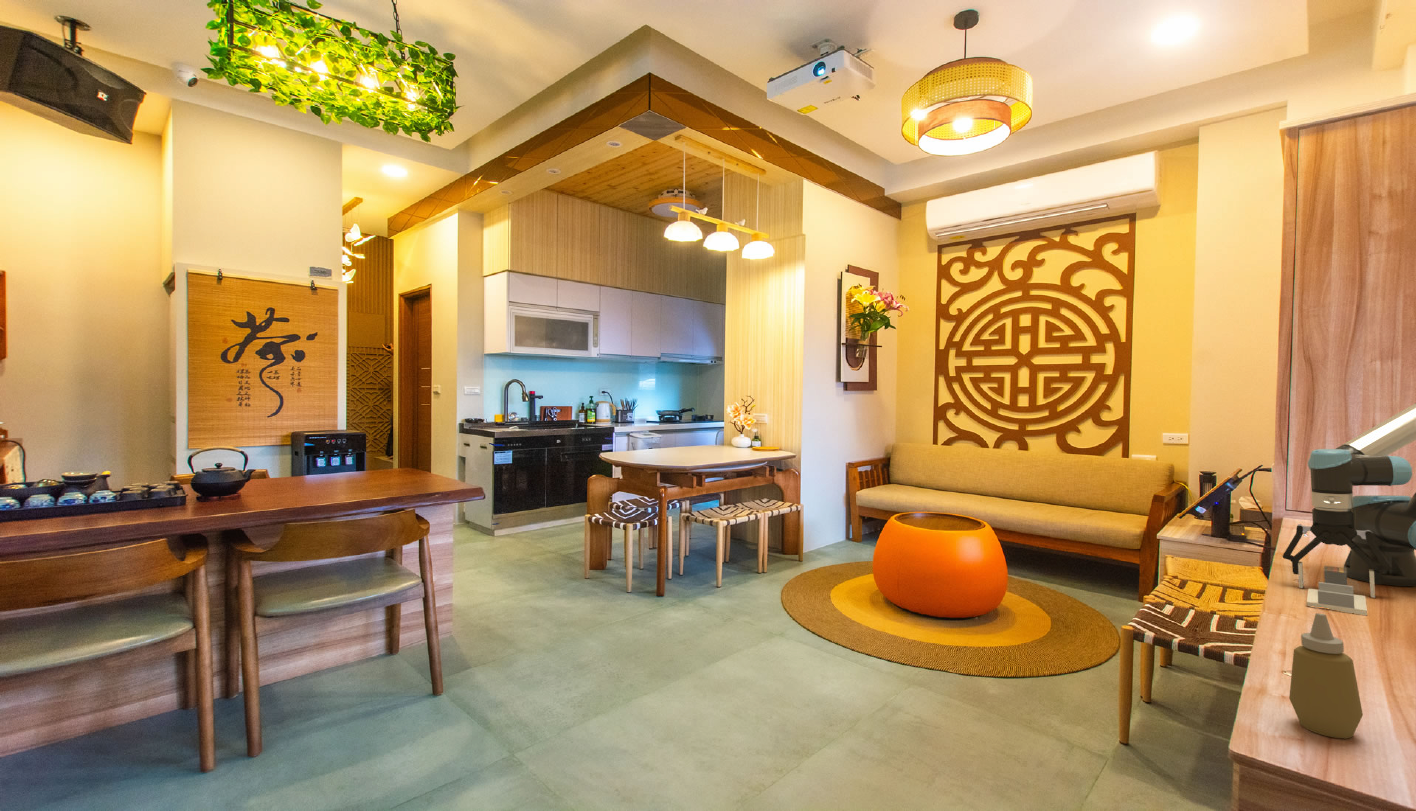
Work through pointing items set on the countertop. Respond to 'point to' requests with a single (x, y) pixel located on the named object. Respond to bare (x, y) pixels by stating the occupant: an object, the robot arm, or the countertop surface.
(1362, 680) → the countertop surface
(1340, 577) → the plug
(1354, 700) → the squeeze bottle
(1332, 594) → the board
